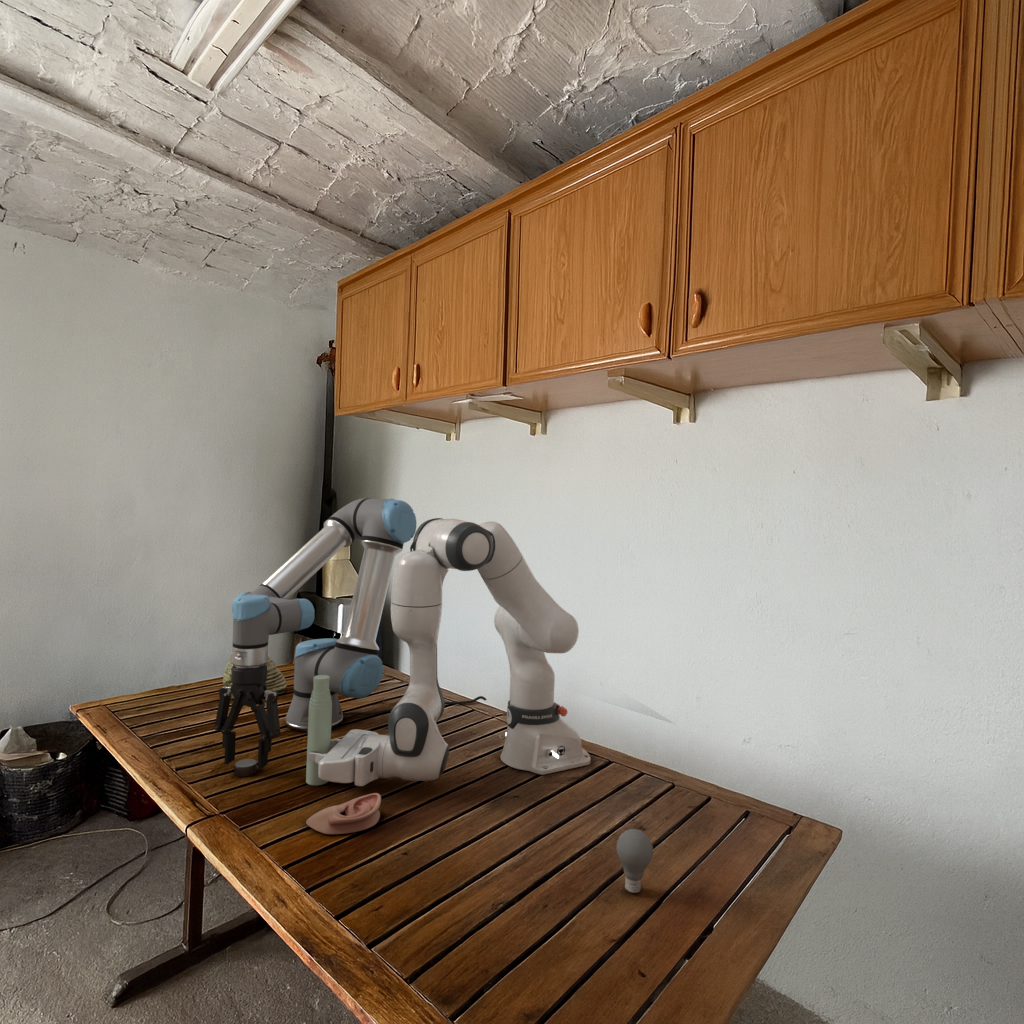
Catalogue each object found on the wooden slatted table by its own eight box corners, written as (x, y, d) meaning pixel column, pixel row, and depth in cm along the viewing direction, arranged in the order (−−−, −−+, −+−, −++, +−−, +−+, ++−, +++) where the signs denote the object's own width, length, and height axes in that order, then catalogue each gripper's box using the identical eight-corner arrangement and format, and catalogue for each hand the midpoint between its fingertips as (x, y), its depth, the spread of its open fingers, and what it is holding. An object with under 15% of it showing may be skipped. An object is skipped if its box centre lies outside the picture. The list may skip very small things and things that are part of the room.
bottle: (334, 779, 142) (338, 676, 142) (318, 787, 138) (322, 681, 137) (317, 773, 145) (321, 672, 144) (301, 782, 140) (304, 677, 140)
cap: (243, 766, 147) (243, 757, 147) (260, 769, 145) (261, 760, 145) (229, 775, 142) (230, 765, 142) (248, 778, 141) (248, 768, 141)
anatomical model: (298, 809, 120) (327, 783, 131) (297, 830, 120) (327, 802, 131) (363, 819, 117) (388, 791, 128) (362, 840, 117) (387, 811, 128)
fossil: (218, 695, 195) (220, 647, 195) (278, 685, 208) (279, 640, 207) (228, 703, 189) (230, 653, 188) (289, 692, 201) (290, 645, 201)
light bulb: (610, 879, 108) (613, 822, 108) (644, 879, 109) (647, 822, 109) (619, 902, 102) (622, 840, 102) (655, 901, 103) (658, 840, 103)
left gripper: (198, 663, 142) (194, 764, 142) (281, 672, 138) (277, 776, 138) (220, 656, 149) (216, 752, 150) (299, 664, 145) (296, 763, 145)
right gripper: (389, 724, 150) (333, 720, 151) (360, 759, 130) (295, 754, 131) (388, 751, 150) (332, 746, 152) (359, 790, 130) (294, 784, 131)
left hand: (246, 764), depth 144 cm, fingers open, 8 cm apart
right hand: (314, 750), depth 141 cm, fingers closed on bottle, 5 cm apart
